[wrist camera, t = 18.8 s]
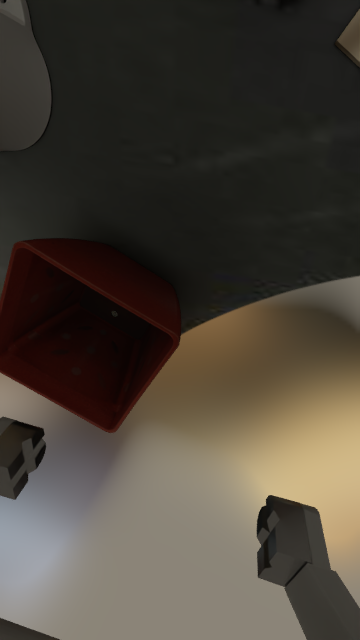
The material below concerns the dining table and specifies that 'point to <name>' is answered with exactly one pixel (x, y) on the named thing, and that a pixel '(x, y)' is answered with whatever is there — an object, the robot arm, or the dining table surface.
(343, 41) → the picture frame
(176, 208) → the dining table surface
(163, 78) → the dining table surface
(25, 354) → the plant pot
